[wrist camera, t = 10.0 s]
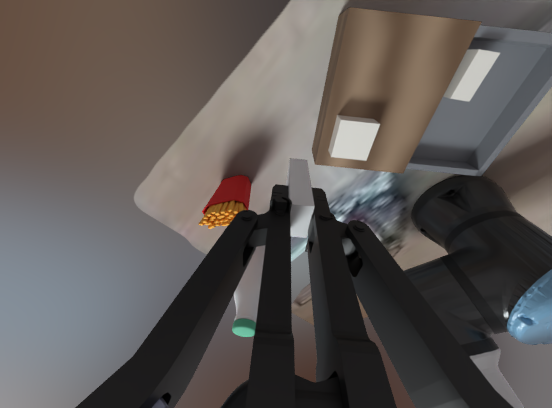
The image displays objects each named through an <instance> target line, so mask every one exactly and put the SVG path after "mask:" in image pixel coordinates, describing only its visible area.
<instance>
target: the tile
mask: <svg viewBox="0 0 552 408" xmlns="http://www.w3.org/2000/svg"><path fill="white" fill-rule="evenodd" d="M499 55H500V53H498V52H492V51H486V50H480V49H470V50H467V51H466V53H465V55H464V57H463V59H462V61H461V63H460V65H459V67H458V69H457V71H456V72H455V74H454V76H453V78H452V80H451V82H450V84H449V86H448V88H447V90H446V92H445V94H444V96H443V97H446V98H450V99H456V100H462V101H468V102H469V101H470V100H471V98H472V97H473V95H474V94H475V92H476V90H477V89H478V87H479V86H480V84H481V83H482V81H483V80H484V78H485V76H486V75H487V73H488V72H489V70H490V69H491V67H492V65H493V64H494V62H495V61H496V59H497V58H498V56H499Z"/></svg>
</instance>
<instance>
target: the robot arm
mask: <svg viewBox="0 0 552 408" xmlns="http://www.w3.org/2000/svg"><path fill="white" fill-rule="evenodd" d="M412 221H413V223H414V225H415V226H416V227H417V229H418V230H419V231H420V232H421V233H422V234H423V235H424V236H426V237H427V238H429V239H430V240H432V241H433V242H435V243H437V244H438V245H440V246H441V247H443V248H444V249H445V250H446V251H447V252H448V255H446V256H443V257H440V258H437V259H435V260H432V261H429V262H427V263H424V264H421V265H418V266H416V267H413V268H410V269H407V270H405V271H403V270H402V269H401V268H400V266H399V265H398V264H397V263H396V261H395V260H394V259H393V257H392V256H391V255H390V254H389V252H388V251H387V250H386V248H385V247H384V246H383V244H382V243H381V242H380V241H379V239H378V238H377V237H376V235H375V234H374V233H373V232H372V230H371V229H370V228H369V226H367V225H366V224H365V223H363V222H361V221H358V220H352V221H350V222H349V223H348V224H345V223H342V222H339V221H337V220H336V218H335V216H334V215H333V214H332V213H331V212H330V210H329V206H328V202H327V198H326V194H325V192H324V191H323V190H322V189H319V188H312V187H311V181H310V175H309V169H308V163H307V160H302V159H293V158H290V160H289V167H288V174H287V181H286V185H275V186H274V187H273V188H272V197H271V200H270V210H269V211H268V212H267V213H264V214H261V215H257V214H256V213H255V212H254V211H251V210H242V211H240V212H238V213H237V214H236V216H235V217H234V218H233V220H232V221H231V223H230V224H229V225H228V227H227V228H226V229H225V231H224V232H223V234H222V235H221V236H220V238H219V239H218V240H217V242H216V243H215V245H214V246H213V247H212V249H211V250H210V251H209V253H208V254H207V256H206V257H205V258H204V260H203V261H202V263H201V264H200V265H199V267H198V268H197V269H196V271H195V272H194V274H193V275H192V276H191V278H190V279H189V280H188V282H187V283H186V284H185V286H184V287H183V288H182V290H181V291H180V293H179V294H178V295H177V297H176V298H175V299H174V301H173V302H172V304H171V305H170V306H169V308H168V309H167V310H166V312H165V313H164V315H163V316H162V317H161V319H160V320H159V322H158V323H157V324H156V326H155V327H154V328H153V330H152V331H151V333H150V334H149V335H148V337H147V338H146V339H145V341H144V342H143V344H142V345H141V346H140V348H139V349H138V350H137V352H136V353H135V354H134V356H133V357H132V358H131V359H130V360H128V361H127V362H126V363H125V364H124V365H123V366H122V367H121V368H120V369H118V370H117V371H116V372H115V373H114V374H113V375H112V376H110V377H109V378H108V379H107V380H106V381H105V382H104V383H103V384H102V385H100V386H99V387H98V388H97V389H96V390H95V391H94V392H92V393H91V394H90V395H89V396H88V397H87V398H86V399H85V400H83V401H82V402H81V403H80V404H79V405H78V406H77V407H76V408H174V407H175V405H176V404H177V402H178V401H179V399H180V398H181V396H182V395H183V393H184V391H185V390H186V388H187V386H188V384H189V382H190V380H191V379H192V377H193V375H194V373H195V371H196V369H197V367H198V365H199V363H200V361H201V359H202V357H203V355H204V353H205V351H206V349H207V347H208V345H209V343H210V341H211V339H212V337H213V335H214V333H215V330H216V328H217V327H218V324H219V322H220V320H221V318H222V316H223V314H224V312H225V310H226V308H227V306H228V304H229V302H230V300H231V298H232V296H233V294H234V292H235V290H236V288H237V286H238V284H239V282H240V280H241V278H242V276H243V274H244V272H245V270H246V268H247V266H248V264H249V262H250V260H251V258H252V256H253V254H254V252H255V250H256V247H258V246H264V245H265V253H264V261H263V269H262V278H261V286H260V294H259V303H258V311H257V319H256V327H255V333H254V341H253V350H252V357H251V365H250V374H249V379H248V380H247V381H245V382H244V383H242V384H241V385H240V386H239V387H237V388H236V389H235V390H234V391H233V393H231V395H230V396H229V397H228V398H227V400H226V401H225V402H224V404H223V405H222V406H221V408H397V407H396V404H395V401H394V397H393V394H392V391H391V387H390V384H389V381H388V378H387V374H386V371H385V367H384V364H383V361H382V357H381V354H380V352H379V349H378V347H377V346H376V344H375V343H374V342H372V341H371V340H370V339H369V338H368V335H367V332H366V328H365V325H364V321H363V317H362V314H361V310H360V306H359V303H358V299H357V296H358V298H359V300H360V302H361V303H362V305H363V307H364V309H365V311H366V313H367V315H368V317H369V319H370V321H371V323H372V325H373V327H374V329H375V331H376V333H377V334H378V336H379V338H380V340H381V342H382V344H383V346H384V348H385V350H386V352H387V354H388V356H389V358H390V360H391V362H392V364H393V365H394V367H395V369H396V371H397V373H398V375H399V377H400V379H401V381H402V383H403V385H404V387H405V389H406V391H407V393H408V394H409V396H410V398H411V400H412V402H413V403H414V405H415V407H416V408H524V406H523V405H522V404H521V402H520V400H519V399H518V397H517V396H516V394H515V393H514V391H513V390H512V389H511V387H510V385H509V384H508V382H507V381H506V379H505V378H504V376H503V375H502V374H501V372H500V370H499V368H498V361H499V357H500V353H501V350H500V349H499V347H498V346H497V344H496V343H495V342H494V340H493V339H492V338H491V335H493V334H497V333H502V332H509V333H510V335H511V336H512V337H514V338H516V339H517V340H518V341H520V342H522V343H525V344H532V345H537V344H541V343H542V344H550V343H552V236H550V235H549V234H547V233H546V232H544V231H543V230H542V229H540V228H539V227H537V226H536V225H534V224H533V223H531V222H530V221H529V220H527V219H525V218H524V217H523V216H521V215H520V214H519V213H517V212H516V210H515V208H514V207H513V205H512V204H511V202H510V201H509V199H508V197H507V196H506V195H505V193H504V191H503V190H502V188H501V187H500V186H499V185H497V184H496V183H494V182H493V181H491V180H490V179H488V178H486V177H483V176H472V175H462V176H457V177H453V178H450V179H447V180H445V181H443V182H440V183H439V184H437V185H435V186H433V187H432V188H430V189H429V190H428V191H426V192H425V193H424V194H423V195H422V196H421V197H420V198H419V199H418V201H417V202H416V203H415V205H414V207H413V210H412ZM307 234H308V241H307V245H306V249H305V251H307V249H308V259H309V272H310V283H311V294H312V305H313V317H314V327H315V339H316V350H317V366H316V383H314V382H311V381H309V380H306V379H304V378H302V377H299V376H297V375H295V369H294V338H293V334H292V328H291V327H292V325H291V236H292V237H302V238H307ZM356 294H357V295H356Z"/></svg>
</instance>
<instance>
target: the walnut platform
mask: <svg viewBox="0 0 552 408" xmlns="http://www.w3.org/2000/svg"><path fill="white" fill-rule="evenodd" d="M480 24H481V22H480V21H471V20H462V19H452V18H443V17H434V16H425V15H416V14H406V13H397V12H388V11H379V10H369V9H360V8H351V7H349V8H348V9H347V10H346V11H344V12H343V13H342V14H340V15H339V17H338V22H337V27H336V32H335V37H334V42H333V47H332V52H331V57H330V62H329V67H328V72H327V77H326V82H325V87H324V92H323V97H322V102H321V107H320V112H319V117H318V122H317V127H316V132H315V137H314V142H313V147H312V153H313V157H314V162H315V164H316V165H326V166H335V167H345V168H355V169H364V170H374V171H384V172H393V173H404V171H405V169H406V167H407V165H408V163H409V161H410V159H411V157H412V155H413V153H414V151H415V149H416V148H417V146H418V144H419V142H420V140H421V138H422V136H423V134H424V132H425V130H426V128H427V126H428V124H429V123H430V121H431V119H432V117H433V115H434V113H435V111H436V109H437V107H438V105H439V103H440V101H441V99H442V97H443V96H444V94H445V92H446V90H447V88H448V86H449V84H450V82H451V80H452V78H453V76H454V74H455V72H456V71H457V69H458V67H459V65H460V63H461V61H462V59H463V57H464V55H465V53H466V51H467V49H468V47H469V46H470V44H471V42H472V40H473V38H474V36H475V34H476V32H477V30H478V28H479V26H480ZM337 115H341V116H351V117H360V118H370V119H374V120H376V121H377V122H378V123H380V126H379V129H378V131H377V134H376V137H375V139H374V142H373V144H372V147H371V150H370V152H369V155H368V158H367V160H366V161H364V160H354V159H345V158H335V157H331V156H330V153H329V151H328V150H329V146H330V142H331V138H332V134H333V130H334V126H335V122H336V118H337Z"/></svg>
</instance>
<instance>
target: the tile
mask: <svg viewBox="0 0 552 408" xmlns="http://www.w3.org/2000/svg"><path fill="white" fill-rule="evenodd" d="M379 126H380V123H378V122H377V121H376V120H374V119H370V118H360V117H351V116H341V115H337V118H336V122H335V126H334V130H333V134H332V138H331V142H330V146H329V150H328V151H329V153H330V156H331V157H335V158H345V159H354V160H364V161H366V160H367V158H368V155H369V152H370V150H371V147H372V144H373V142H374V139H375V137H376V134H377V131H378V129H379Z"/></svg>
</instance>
